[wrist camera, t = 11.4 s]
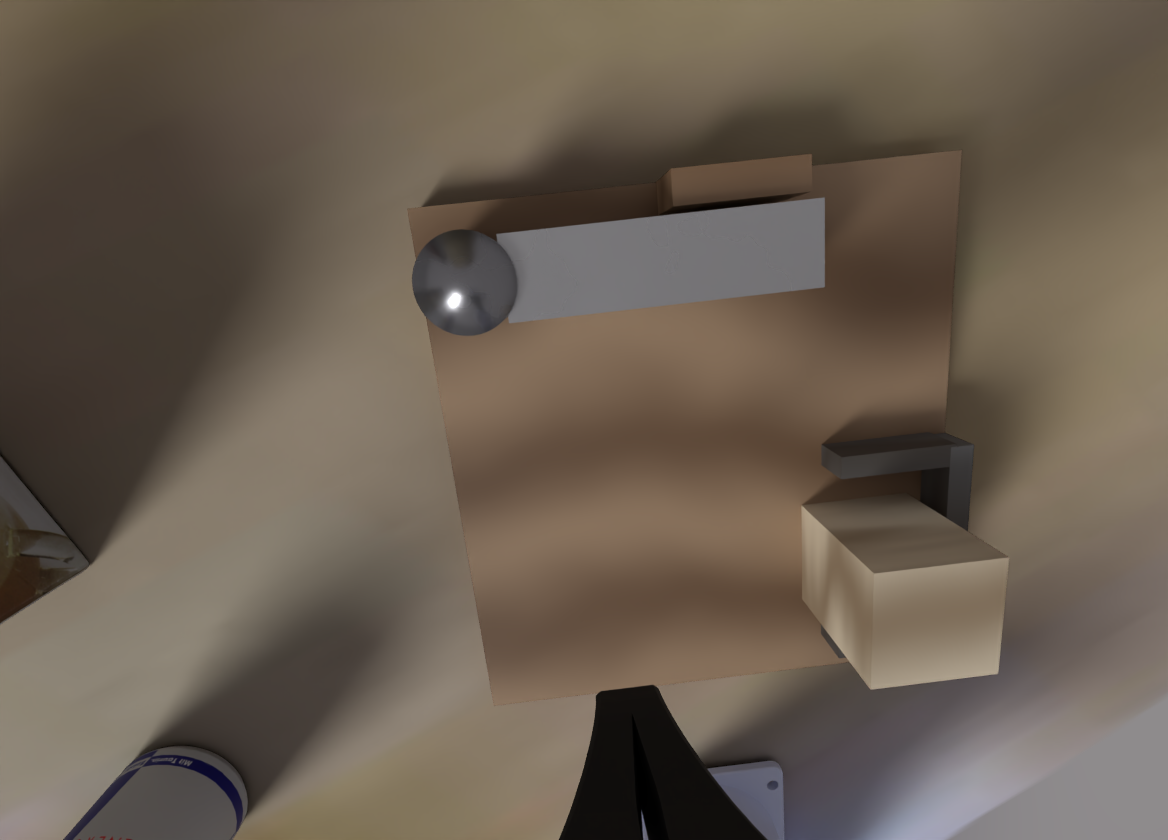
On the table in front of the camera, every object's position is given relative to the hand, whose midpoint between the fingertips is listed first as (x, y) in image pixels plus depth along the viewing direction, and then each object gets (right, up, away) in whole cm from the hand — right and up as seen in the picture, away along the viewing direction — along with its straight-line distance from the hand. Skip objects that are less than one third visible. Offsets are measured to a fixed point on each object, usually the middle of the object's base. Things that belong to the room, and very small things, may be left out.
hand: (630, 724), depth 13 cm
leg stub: (+9, +2, +9) cm, 13 cm away
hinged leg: (0, +12, +6) cm, 13 cm away
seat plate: (+3, +6, +9) cm, 11 cm away
